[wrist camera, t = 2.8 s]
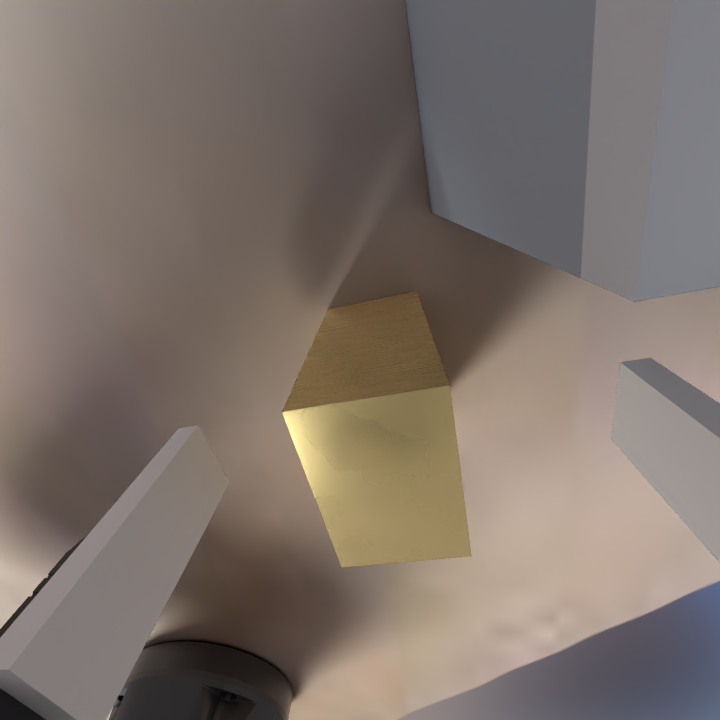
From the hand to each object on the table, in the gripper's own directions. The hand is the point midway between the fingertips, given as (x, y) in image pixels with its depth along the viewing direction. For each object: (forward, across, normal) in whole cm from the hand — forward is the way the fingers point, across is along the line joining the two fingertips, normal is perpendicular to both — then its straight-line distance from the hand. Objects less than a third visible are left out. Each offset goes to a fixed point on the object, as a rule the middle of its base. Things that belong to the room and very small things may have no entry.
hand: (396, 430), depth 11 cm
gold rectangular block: (+6, 0, 0) cm, 6 cm away
